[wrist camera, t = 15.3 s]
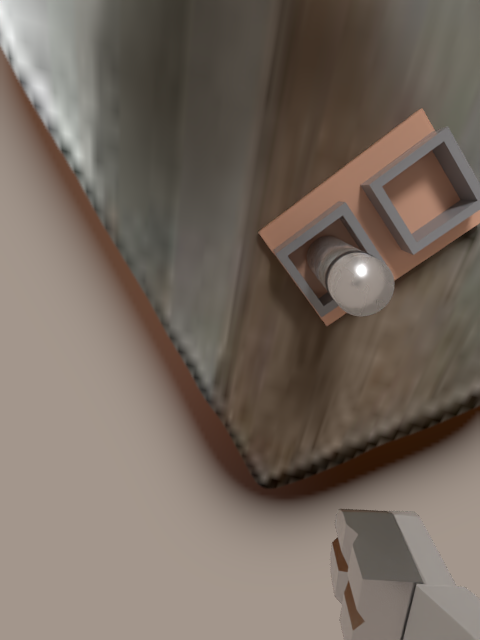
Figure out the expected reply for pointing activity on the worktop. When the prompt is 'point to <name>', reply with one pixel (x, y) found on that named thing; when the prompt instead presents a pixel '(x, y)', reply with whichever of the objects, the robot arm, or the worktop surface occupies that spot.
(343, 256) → the grey capped bottle
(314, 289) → the grey double cup holder
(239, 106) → the worktop surface
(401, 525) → the robot arm
